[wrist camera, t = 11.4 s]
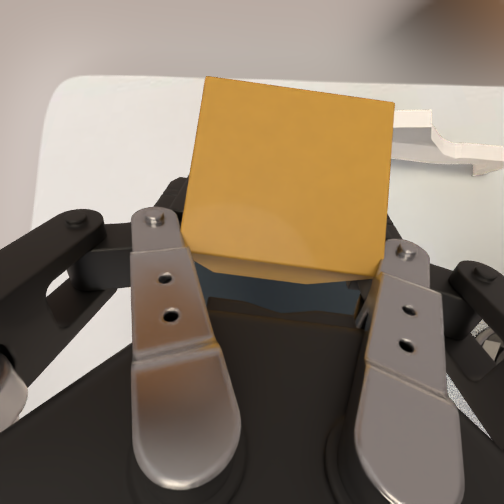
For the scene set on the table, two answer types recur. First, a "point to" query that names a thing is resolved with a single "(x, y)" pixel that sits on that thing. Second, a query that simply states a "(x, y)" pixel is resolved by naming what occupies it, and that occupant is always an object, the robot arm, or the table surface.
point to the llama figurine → (439, 144)
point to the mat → (278, 293)
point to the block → (288, 183)
